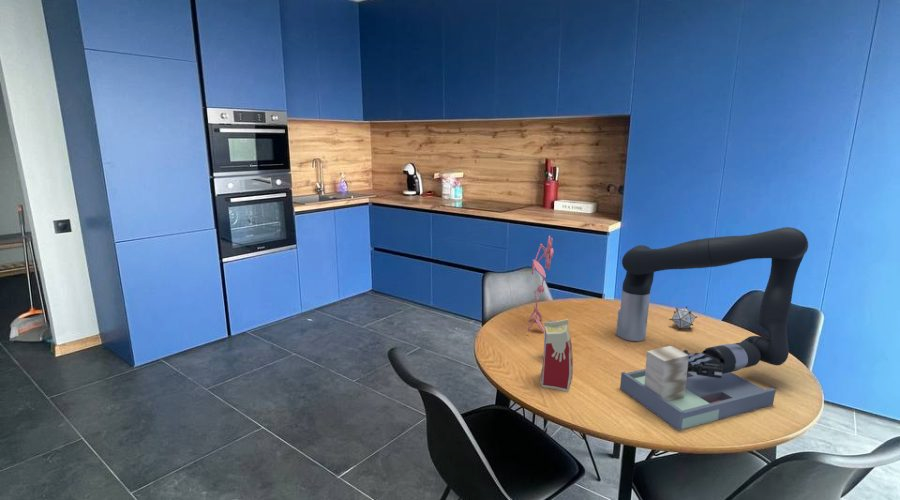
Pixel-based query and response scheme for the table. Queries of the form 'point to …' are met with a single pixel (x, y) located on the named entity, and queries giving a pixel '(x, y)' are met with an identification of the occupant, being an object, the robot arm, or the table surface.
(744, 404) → the box
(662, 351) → the off-white block
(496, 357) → the table surface
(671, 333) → the table surface
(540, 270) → the figurine
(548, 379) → the milk carton
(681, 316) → the game die
